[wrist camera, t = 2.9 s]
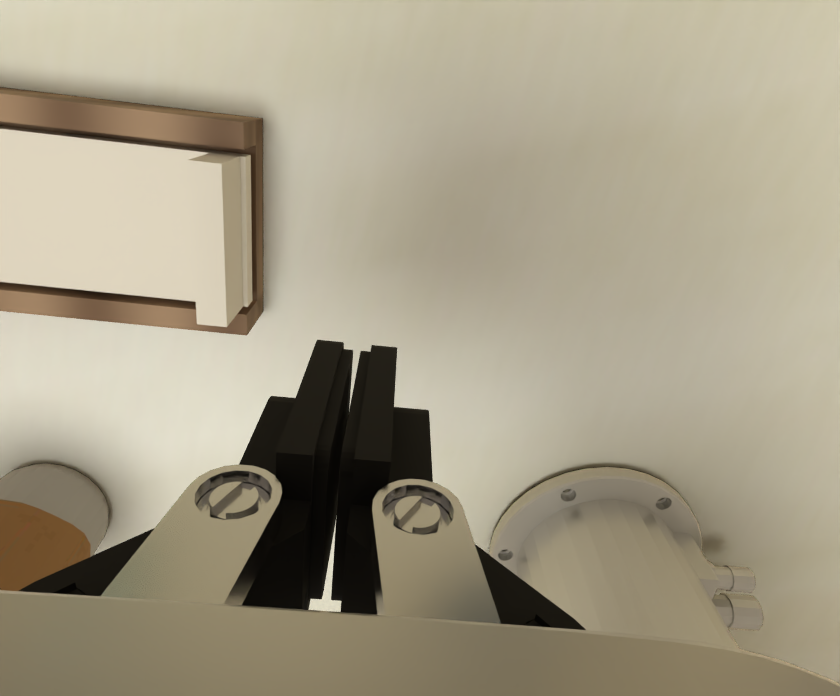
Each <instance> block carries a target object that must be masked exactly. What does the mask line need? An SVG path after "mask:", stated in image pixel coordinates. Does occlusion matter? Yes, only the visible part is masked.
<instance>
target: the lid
mask: <svg viewBox="0 0 840 696" xmlns="http://www.w3.org/2000/svg"><path fill="white" fill-rule="evenodd" d="M0 282H8V283H18V284H28V285H37V286H47V287H57V288H67V289H77V290H87V291H96V292H106V293H116V294H126V295H136V296H146V297H155V298H165V299H175V300H185V301H195V302H196V317H197V324H199V325H210V326H220V327H227V326H228V325H229V324H230V323H231V321H232V320H233V319H234V317H235V316H236V315H237V314H238V312H239V311H240V310H241V309H242V307H243V306H244V307H248V306H249V305H250V303H251V302H252V223H251V155H248V154H239V153H231V152H222V151H213V150H205V149H196V148H187V147H179V146H170V145H162V144H153V143H144V142H136V141H127V140H118V139H110V138H101V137H92V136H84V135H75V134H67V133H58V132H49V131H41V130H32V129H23V128H15V127H6V126H0Z"/></svg>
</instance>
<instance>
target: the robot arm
mask: <svg viewBox="0 0 840 696" xmlns="http://www.w3.org/2000/svg"><path fill="white" fill-rule="evenodd" d="M396 358H397V348H396V347H385V346H375V345H372V346H371V352H367V351H361V353H360V358H359V363H358V368H357V374H356V379H355V384H354V390H353V395H352V400H351V405H350V411H349V403H350V389H351V375H352V360H353V350H346V349H344V343H343V342H334V341H323V340H317V341H316V344H315V347H314V350H313V352H312V355H311V358H310V361H309V363H308V366H307V369H306V371H305V374H304V377H303V380H302V382H301V385H300V388H299V391H298V393H297V396H296V398H288V397H277V396H271V397H270V398H269V400H268V402H267V404H266V406H265V408H264V410H263V413H262V415H261V417H260V419H259V422H258V424H257V426H256V428H255V430H254V433H253V435H252V437H251V439H250V442H249V444H248V446H247V448H246V450H245V453H244V455H243V457H242V459H241V462H240V464H239V465H230V466H223V467H220V468H217V469H213V470H210V471H208V472H207V473H205V474H203V475H201V476H199V477H198V478H197V479H196V480H194V481H193V482H192V483H191V484H190V485H189V486H188V487H187V489H186V490H185V491H184V492H183V494H182V495H181V496H180V497H179V499H178V500H177V501H176V502H175V504H174V505H173V506H172V507H171V509H170V510H169V511H168V512H167V514H166V515H165V516H164V517H163V519H162V520H161V521H160V522H159V524H158V525H157V526H156V527H155V528H154V529H152V530H149V531H147V532H145V533H143V534H141V535H138V536H136V537H134V538H132V539H129V540H127V541H125V542H123V543H120V544H118V545H116V546H114V547H111V548H109V549H107V550H105V551H102V552H100V553H98V554H96V555H93V556H91V557H89V558H87V559H84V560H82V561H80V562H78V563H75V564H73V565H71V566H69V567H66V568H64V569H62V570H60V571H57V572H55V573H53V574H51V575H48V576H46V577H44V578H42V579H40V580H37V581H35V582H33V583H31V584H30V585H28V586H26V587H24V588H22V589H21V590H19V591H6V590H0V696H840V684H839V683H837V682H835V681H833V680H831V679H829V678H826V677H823V676H821V675H818V674H816V673H813V672H811V671H808V670H806V669H803V668H800V667H798V666H795V665H793V664H790V663H788V662H785V661H782V660H778V659H775V658H771V657H767V656H764V655H760V654H757V653H753V652H750V651H746V650H742V649H739V647H738V645H737V643H736V642H735V640H734V638H733V636H732V635H731V633H730V631H729V630H728V629H739V630H752V631H755V630H759V629H760V628H761V626H762V623H763V613H762V608H761V606H760V604H759V602H758V600H757V599H756V598H755V597H754V596H750V595H740V594H727V593H720V594H719V595H716V594H715V592H716V590H717V589H725V590H726V591H735V592H748V593H752V592H753V591H754V589H755V585H756V582H755V576H754V574H753V572H752V571H751V570H750V569H749V568H747V567H735V566H723V567H720V566H713V564H712V563H711V562H710V561H708V560H706V558H705V557H704V555H703V554H702V535H701V531H700V528H699V525H698V521H697V519H696V518H695V516H694V514H693V513H692V511H691V509H690V508H689V506H688V504H687V503H686V502H685V501H684V500H683V498H682V497H681V496H680V495H679V493H678V492H677V491H675V490H674V489H673V488H671V487H670V486H669V485H668V484H666V483H665V482H663V481H661V480H659V479H657V478H655V477H653V476H651V475H649V474H646V473H642V472H638V471H635V470H631V469H625V468H614V467H600V468H586V469H582V470H577V471H573V472H568V473H564V474H562V475H559V476H557V477H554V478H552V479H549V480H546V481H544V482H543V483H541V484H539V485H538V486H536V487H534V488H532V489H531V490H529V491H527V492H526V493H525V494H524V495H523V496H521V497H520V498H519V499H518V500H517V501H515V502H514V503H513V504H512V505H511V507H510V508H509V509H508V510H507V511H506V513H505V514H504V515H503V516H502V517H501V519H500V521H499V523H498V525H497V527H496V528H495V530H494V533H493V536H492V540H491V543H490V549H489V554H487V553H486V552H485V551H483V550H482V549H481V548H479V547H478V546H477V545H475V543H474V540H473V537H472V534H471V531H470V528H469V525H468V522H467V519H466V516H465V513H464V510H463V507H462V505H461V504H460V502H459V500H458V498H457V497H456V496H455V495H454V494H453V493H452V492H451V491H449V490H448V489H446V488H444V487H443V486H441V485H439V484H437V483H433V480H432V461H431V441H430V422H429V411H428V410H421V409H410V408H399V407H394V394H395V376H396ZM336 515H337V518H336ZM335 521H336V533H335V549H334V564H333V580H332V596H331V600H340V601H342V602H341V612H331V611H316V610H308V609H309V604H310V599H322V596H323V590H324V584H325V579H326V573H327V567H328V561H329V556H330V550H331V544H332V538H333V533H334V527H335Z"/></svg>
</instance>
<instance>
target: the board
mask: <svg viewBox="0 0 840 696" xmlns="http://www.w3.org/2000/svg"><path fill="white" fill-rule="evenodd" d="M0 126H6V127H15V128H23V129H32V130H41V131H49V132H58V133H67V134H75V135H84V136H92V137H101V138H110V139H118V140H127V141H136V142H144V143H153V144H162V145H170V146H179V147H187V148H196V149H205V150H213V151H222V152H231V153H239V154H248V155H251V223H252V302H251V303H250V305H249V306H248V307H244V306H243V307H242V309H241V310H240V311H239V312H238V314H237V315H236V316H235V317H234V319H233V320H232V321H231V323H230V324H229V325H228V326H227V327H220V326H210V325H199V324H197V317H196V302H195V301H185V300H175V299H165V298H155V297H146V296H136V295H126V294H116V293H106V292H96V291H87V290H77V289H67V288H57V287H47V286H37V285H28V284H18V283H8V282H0V311H7V312H17V313H27V314H37V315H47V316H57V317H67V318H77V319H87V320H97V321H108V322H118V323H128V324H138V325H148V326H158V327H168V328H178V329H188V330H198V331H209V332H219V333H229V334H239V335H247V334H248V333H249V332H250V330H251V329H252V327H253V326H254V324H255V323H256V321H257V320H258V318H259V317H260V315H261V314H262V312H263V118H254V117H246V116H237V115H229V114H221V113H212V112H204V111H196V110H187V109H179V108H170V107H162V106H154V105H145V104H137V103H129V102H120V101H112V100H103V99H95V98H87V97H78V96H70V95H62V94H53V93H45V92H36V91H28V90H20V89H11V88H3V87H0Z"/></svg>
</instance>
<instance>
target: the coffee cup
mask: <svg viewBox="0 0 840 696" xmlns="http://www.w3.org/2000/svg"><path fill="white" fill-rule="evenodd" d="M108 516H109V514H108V504H107V502H106V499H105V496H104V495H103V493H102V492H101V491H100V489H99V488H98V486H97V485H95V484H94V483H93V482H92V481H91V480H90V479H89V478H88V477H86V476H84V475H82V474H81V473H79V472H77V471H76V470H73V469H70V468H67V467H65V466H62V465H55V464H49V463H46V464H34V465H30V466H27V467H23V468H19V469H16V470H13V471H11V472H10V473H8V474H7V475H5V476H4V477H2V478H1V479H0V590H6V591H19V590H21V589H22V588H24V587H26V586H28V585H30V584H31V583H33V582H35V581H37V580H40V579H42V578H44V577H46V576H48V575H51V574H53V573H55V572H57V571H60V570H62V569H64V568H66V567H69V566H71V565H73V564H75V563H78V562H80V561H82V560H84V559H87V558H89V557H91V556H93V555H94V553H95V551H96V549H97V548H98V546H99V544H100V543H101V541H102V539H103V538H104V536H105V534H106V531H107V528H108Z"/></svg>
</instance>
